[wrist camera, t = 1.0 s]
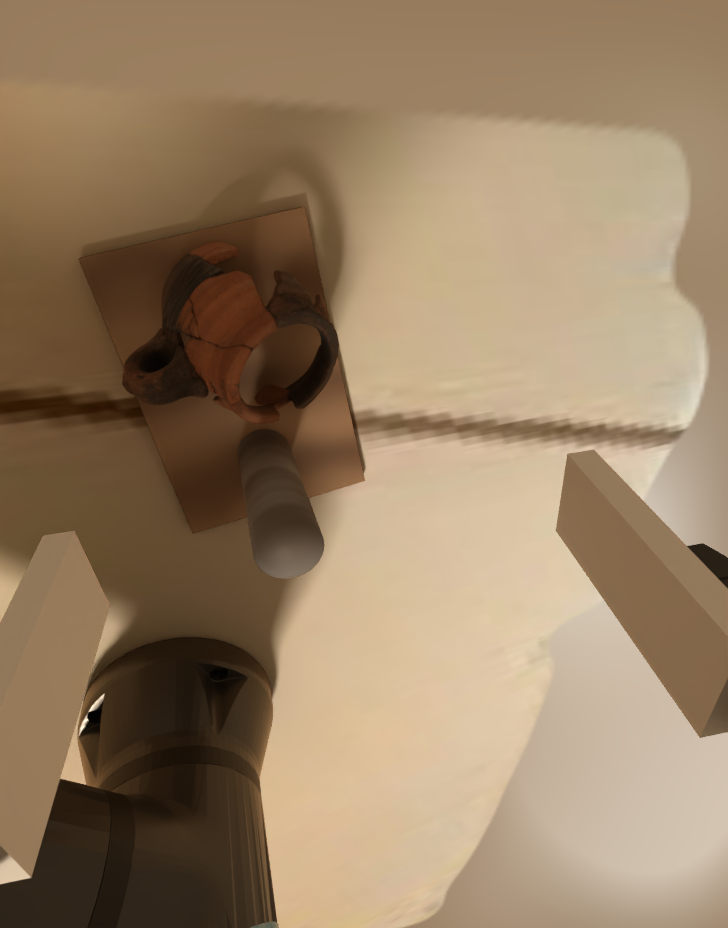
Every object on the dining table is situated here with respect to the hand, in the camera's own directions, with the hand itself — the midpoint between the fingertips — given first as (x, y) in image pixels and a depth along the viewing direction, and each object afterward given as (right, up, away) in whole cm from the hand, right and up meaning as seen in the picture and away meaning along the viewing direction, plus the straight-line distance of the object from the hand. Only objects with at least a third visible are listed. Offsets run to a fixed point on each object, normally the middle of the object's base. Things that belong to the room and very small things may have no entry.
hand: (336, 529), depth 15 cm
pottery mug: (-8, +10, +20) cm, 23 cm away
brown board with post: (-7, +7, +22) cm, 24 cm away
